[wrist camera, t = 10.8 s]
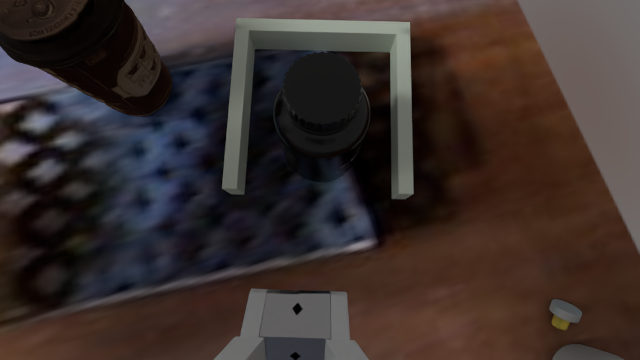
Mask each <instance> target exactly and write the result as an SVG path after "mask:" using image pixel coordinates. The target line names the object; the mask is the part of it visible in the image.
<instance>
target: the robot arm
mask: <svg viewBox="0 0 640 360" xmlns="http://www.w3.org/2000/svg"><path fill="white" fill-rule="evenodd" d="M214 360H369V359H368V358H367V356H366V355H365V354H364V352H363V351H362V349H361V348H360V347H359V345H358V344H357V343H356V341H355V340H350V330H349V314H348V298H347V293H346V292H334V291H331V292H330V291H304V290H299V291H289V290H273V289H251V291H250V293H249V297H248V302H247V306H246V311H245V316H244V320H243V325H242V329H241V334H240V337H234V338H233V339H232V340H231V341H230V343H229V344H228V345H227V346H226V347H225V348H224V349H223V350H222V351H221V352H220V353H219V354H218V355H217V356H216V358H215V359H214Z"/></svg>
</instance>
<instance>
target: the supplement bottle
mask: <svg viewBox="0 0 640 360" xmlns="http://www.w3.org/2000/svg"><path fill="white" fill-rule="evenodd" d="M283 83H284V85H283V86H282V88H281V89H280V91H279V93H278V95H277V97H276V100H275V103H274V111H273V114H274V123H275V127H276V130H277V133H278V136H279V139H280V142H281V145H282V148H283V151H284V154H285V157H286V159H287V161H288V163H289V165H290V166H291V168H292V169H293V170H294V171H295V172H296V173H297V174H299V175H300V176H302V177H303V178H305V179H308V180H311V181H315V182H327V181H332V180H335V179H337V178H339V177H341V176H343V175H344V174H345V173H346V172H347V171H348V170H349V169H350V168H351V167H352V166H353V164H354V162H355V160H356V158H357V156H358V153H359V151H360V148H361V145H362V143H363V140H364V138H365V135H366V132H367V129H368V126H369V122H370V105H369V101H368V98H367V95H366V93H365V91H364V90H363V88H362V86H361V79H360V78H359V73H358V72H357V71H356V70H355V67H354V66H352V65H351V63H350V62H349V61H347V60H345V58H344V57H340V56H339V55H337V54H332V53H330V52H328V53H325V52H319V53H316V52H314V53H313V54H307V55H306V56H305V57H301V58H300V59H299V60H298V61H296V62H294V64H293V66H291V67H290V68H289V71H288V72H287V73H286V78H285V79H284V81H283Z"/></svg>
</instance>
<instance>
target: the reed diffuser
mask: <svg viewBox="0 0 640 360" xmlns="http://www.w3.org/2000/svg"><path fill="white" fill-rule="evenodd" d="M549 310H550V311H551V312H552V313H553V314H554V316H553V319H552V325H553V326H555V327H556V328H558V329H560V330H566V329H567V328H568V326H569V324H570V322H572V323H578V322H579V321H580V318H581V316H582V312H581V311H580V310H579V309H578V308H577V307H575V306H574V305H572V304H570V303H567V302H565V301H562V300H558V299H553V300H552V302H551V304H550V307H549ZM552 360H624V359H623V358H621V357H619V356H617V355H614V354H611V353H608V352H605V351H601V350H598V349H595V348H592V347H588V346H585V345H581V344H569V345H566V346H564V347H562V348H560V349H559V350H558V351H557V352H556V353H555V355H554V356H553V359H552Z"/></svg>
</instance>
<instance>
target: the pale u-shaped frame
mask: <svg viewBox="0 0 640 360" xmlns="http://www.w3.org/2000/svg"><path fill="white" fill-rule="evenodd" d="M255 49H275V50H315V51H355V52H390V82H391V185H392V199H406V198H408V197H409V196H411V195H413V194H414V189H413V143H412V98H411V53H410V22H381V21H339V20H297V19H256V18H236V29H235V41H234V53H233V64H232V76H231V88H230V100H229V111H228V123H227V135H226V146H225V158H224V170H223V181H222V189H224V190H225V191H227V192H228V193H230V194H242V195H244V193H245V180H246V166H247V152H248V138H249V124H250V111H251V97H252V83H253V69H254V56H255Z"/></svg>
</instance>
